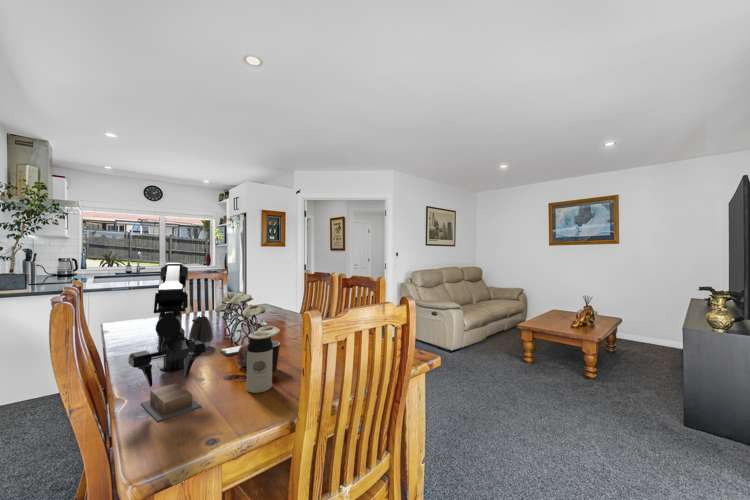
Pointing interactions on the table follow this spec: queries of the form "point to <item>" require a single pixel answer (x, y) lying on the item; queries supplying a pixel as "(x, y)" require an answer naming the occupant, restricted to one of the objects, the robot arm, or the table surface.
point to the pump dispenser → (201, 330)
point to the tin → (242, 355)
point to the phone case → (230, 351)
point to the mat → (159, 416)
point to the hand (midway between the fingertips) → (168, 381)
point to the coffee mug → (275, 355)
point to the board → (170, 398)
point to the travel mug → (259, 362)
